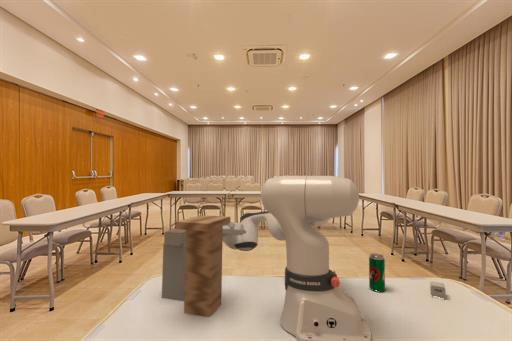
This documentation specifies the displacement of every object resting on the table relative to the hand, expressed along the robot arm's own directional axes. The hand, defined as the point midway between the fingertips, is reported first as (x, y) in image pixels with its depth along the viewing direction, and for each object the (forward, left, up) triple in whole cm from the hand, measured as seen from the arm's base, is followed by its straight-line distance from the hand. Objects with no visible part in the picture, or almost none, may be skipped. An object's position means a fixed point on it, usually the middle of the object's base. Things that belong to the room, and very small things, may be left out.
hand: (216, 221), depth 116 cm
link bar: (0, +21, -3) cm, 21 cm away
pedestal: (0, +25, -20) cm, 32 cm away
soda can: (-64, +6, -20) cm, 67 cm away
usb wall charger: (-83, +5, -20) cm, 85 cm away
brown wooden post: (-12, +36, -20) cm, 43 cm away
